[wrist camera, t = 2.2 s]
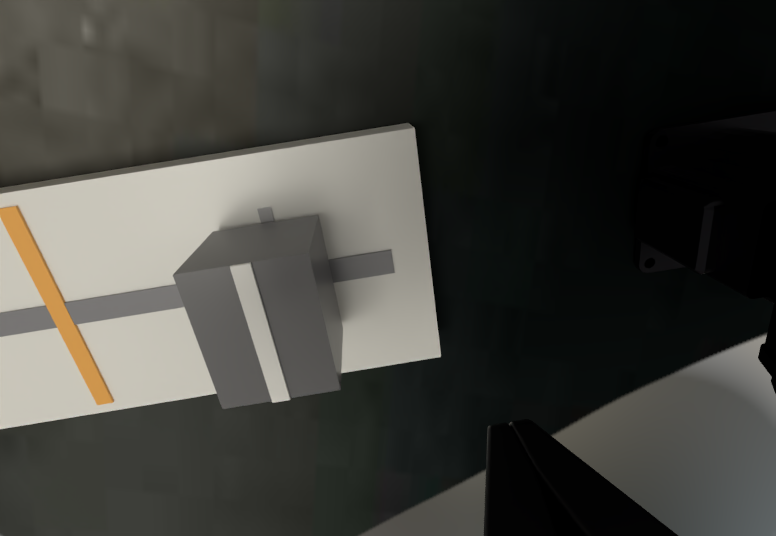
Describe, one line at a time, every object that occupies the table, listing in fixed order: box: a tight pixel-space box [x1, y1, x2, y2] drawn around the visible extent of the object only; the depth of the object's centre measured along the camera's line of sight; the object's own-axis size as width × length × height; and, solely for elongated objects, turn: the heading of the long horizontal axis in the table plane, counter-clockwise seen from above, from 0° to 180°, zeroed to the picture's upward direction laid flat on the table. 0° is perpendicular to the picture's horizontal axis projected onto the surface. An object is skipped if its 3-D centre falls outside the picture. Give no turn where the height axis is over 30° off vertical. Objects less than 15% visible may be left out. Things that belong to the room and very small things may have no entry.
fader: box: [173, 215, 343, 409], centre depth 16 cm, size 4×5×4 cm
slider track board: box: [0, 123, 441, 429], centre depth 19 cm, size 20×10×2 cm, turn 98°
